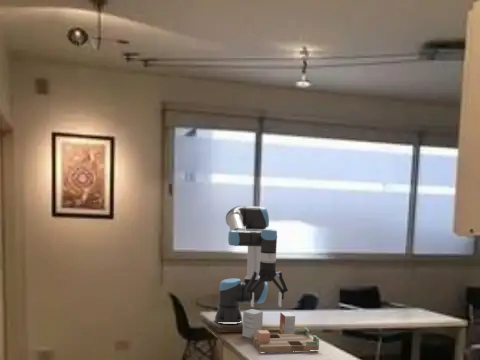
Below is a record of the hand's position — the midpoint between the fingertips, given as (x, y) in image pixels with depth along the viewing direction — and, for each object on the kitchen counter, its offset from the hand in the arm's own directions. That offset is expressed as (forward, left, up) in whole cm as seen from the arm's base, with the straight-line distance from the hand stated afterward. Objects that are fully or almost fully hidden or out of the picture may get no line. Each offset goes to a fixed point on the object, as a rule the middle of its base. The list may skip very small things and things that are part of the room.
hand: (266, 306), depth 234 cm
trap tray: (0, +10, -19) cm, 21 cm away
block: (0, 0, -16) cm, 16 cm away
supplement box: (-16, -2, -19) cm, 25 cm away
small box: (-18, +17, -19) cm, 32 cm away
